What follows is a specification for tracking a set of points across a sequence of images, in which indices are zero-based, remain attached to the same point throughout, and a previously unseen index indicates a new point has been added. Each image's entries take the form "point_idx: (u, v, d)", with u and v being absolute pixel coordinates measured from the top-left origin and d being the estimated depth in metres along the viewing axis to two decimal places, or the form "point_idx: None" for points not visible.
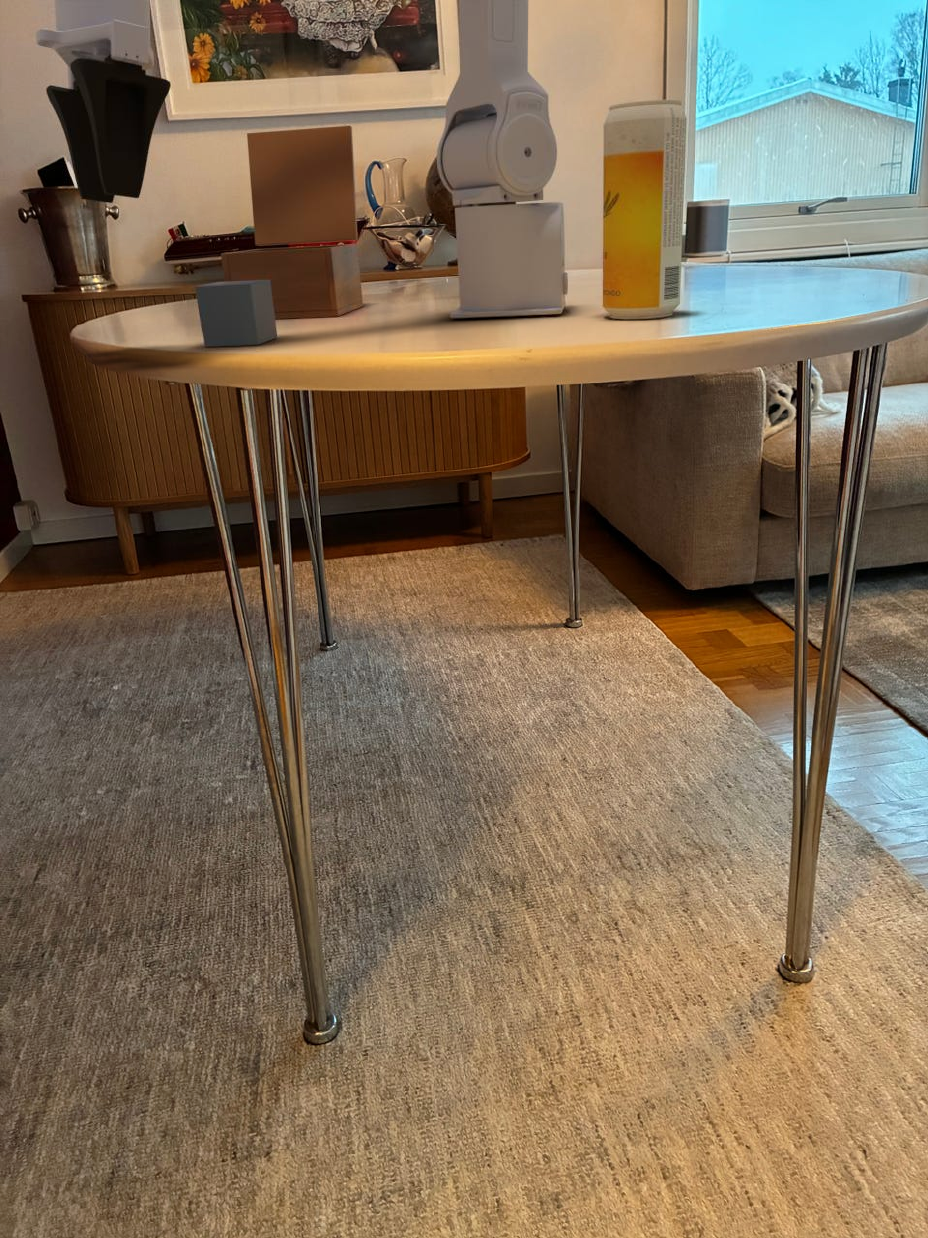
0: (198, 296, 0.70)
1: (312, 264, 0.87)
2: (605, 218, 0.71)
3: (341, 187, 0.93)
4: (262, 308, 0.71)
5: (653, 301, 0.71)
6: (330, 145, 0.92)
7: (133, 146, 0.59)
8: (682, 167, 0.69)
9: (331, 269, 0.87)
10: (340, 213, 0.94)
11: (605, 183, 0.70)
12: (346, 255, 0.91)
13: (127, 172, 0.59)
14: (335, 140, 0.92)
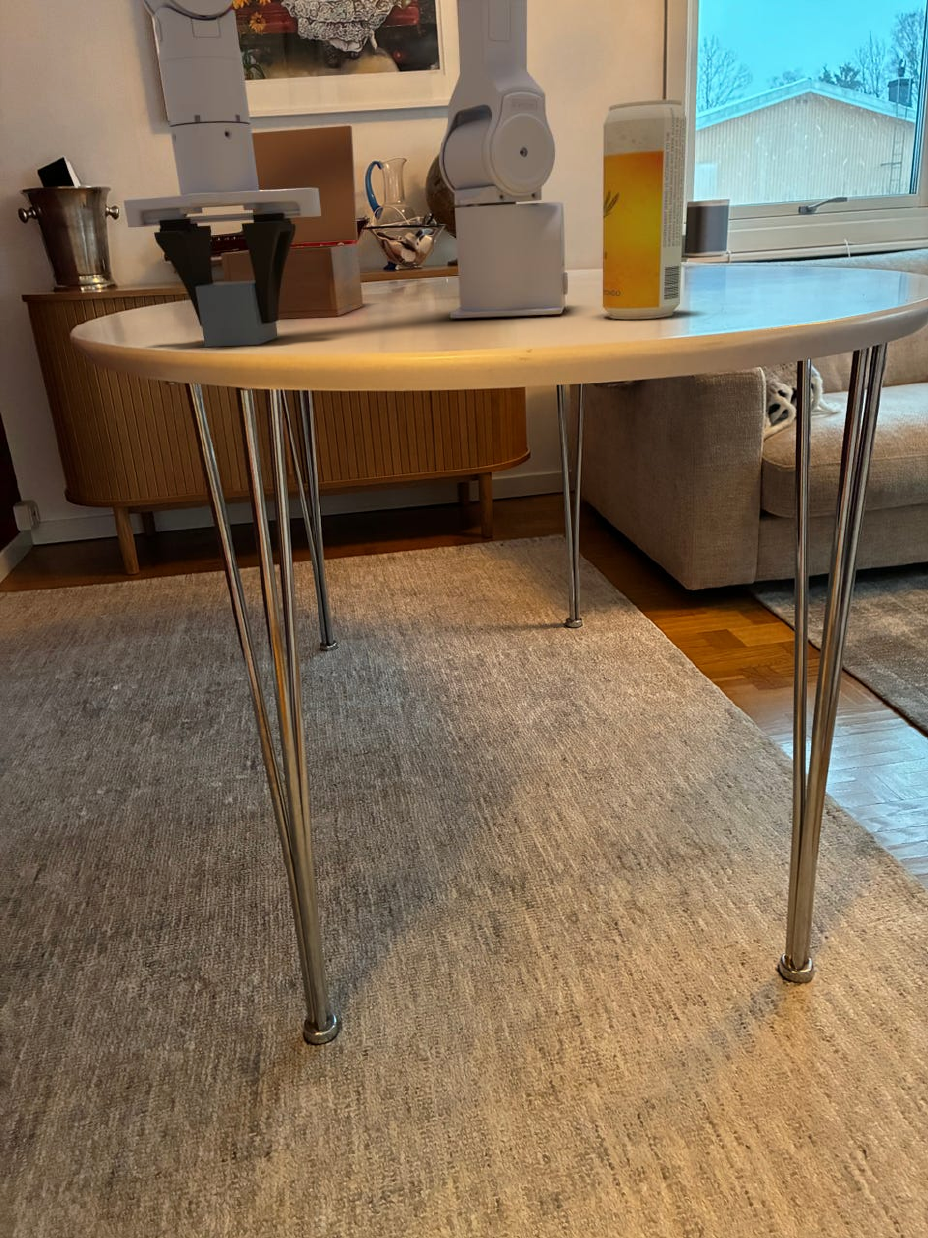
0: (198, 296, 0.70)
1: (312, 264, 0.87)
2: (605, 218, 0.71)
3: (341, 187, 0.93)
4: None
5: (652, 301, 0.71)
6: (330, 145, 0.92)
7: (273, 280, 0.71)
8: (682, 167, 0.69)
9: (331, 269, 0.87)
10: (340, 213, 0.94)
11: (605, 183, 0.70)
12: (346, 255, 0.91)
13: (274, 302, 0.71)
14: (335, 140, 0.92)
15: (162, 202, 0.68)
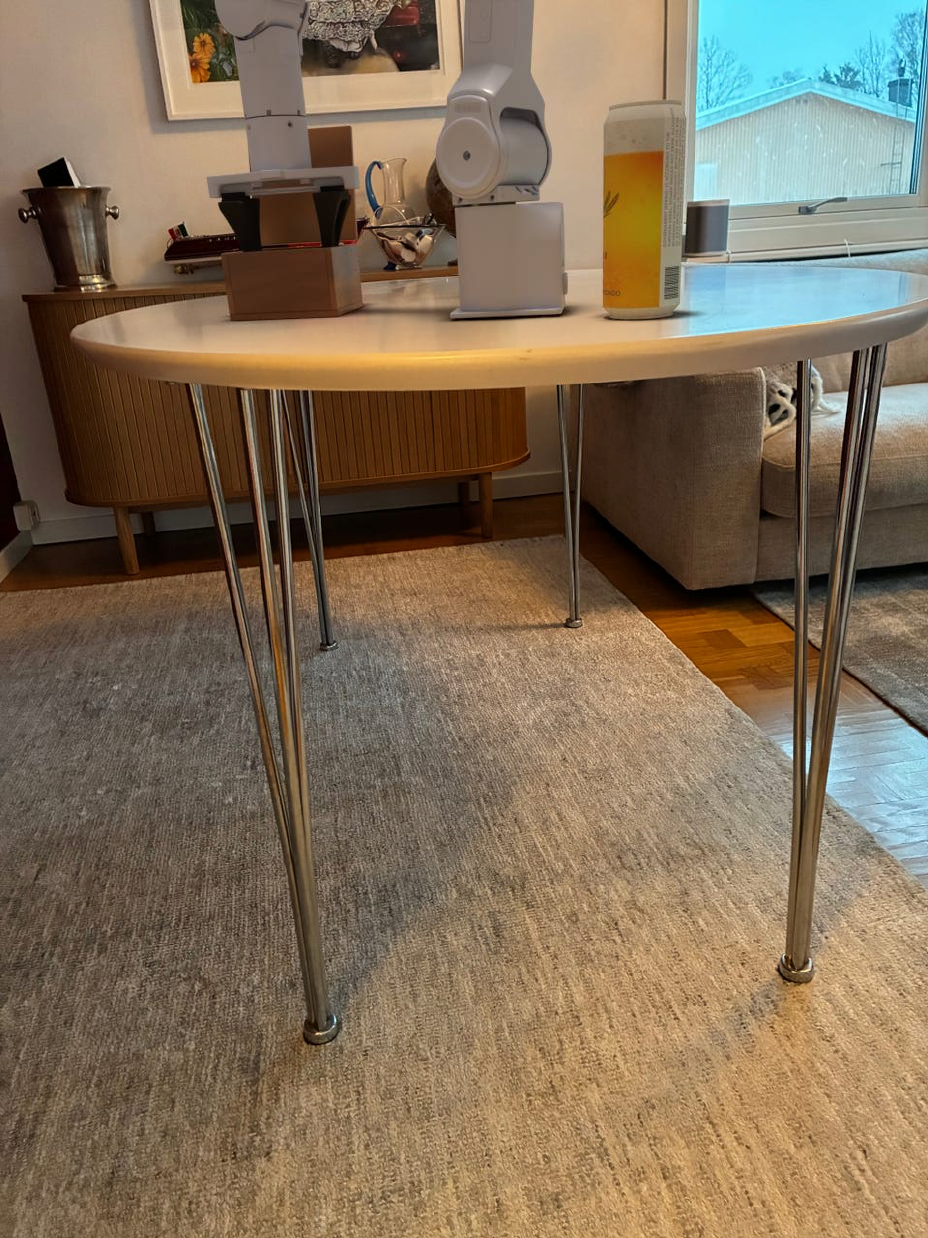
0: None
1: (312, 264, 0.87)
2: (605, 218, 0.71)
3: None
4: None
5: (652, 301, 0.71)
6: (330, 145, 0.92)
7: (334, 239, 0.91)
8: (682, 167, 0.69)
9: (331, 269, 0.87)
10: None
11: (605, 183, 0.70)
12: (346, 255, 0.91)
13: None
14: (335, 140, 0.92)
15: (237, 178, 0.87)
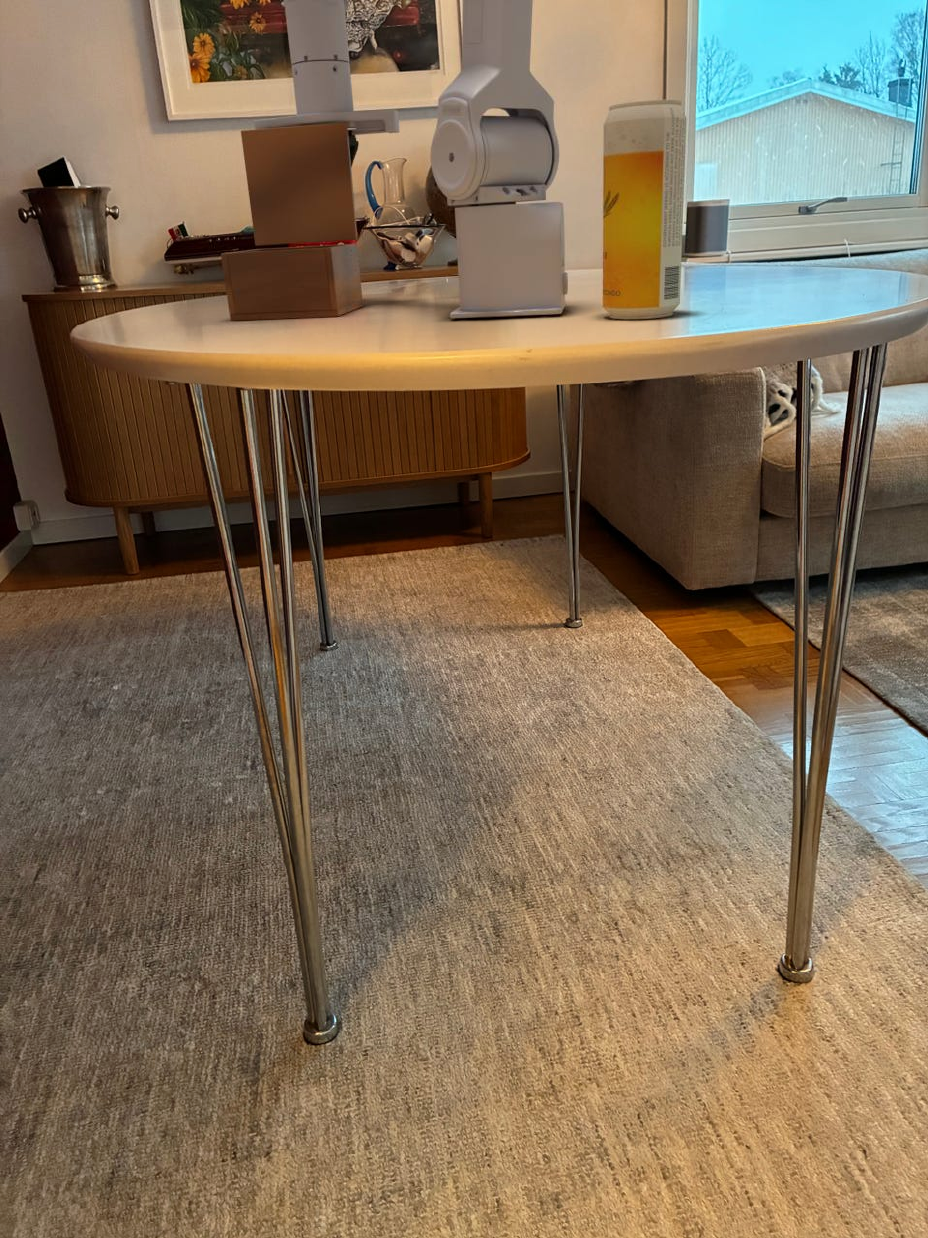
0: None
1: (312, 264, 0.87)
2: (605, 218, 0.71)
3: (339, 187, 0.93)
4: None
5: (652, 301, 0.71)
6: (326, 143, 0.91)
7: None
8: (682, 167, 0.69)
9: (331, 269, 0.87)
10: (339, 213, 0.93)
11: (605, 183, 0.70)
12: (346, 255, 0.91)
13: None
14: (331, 138, 0.91)
15: None
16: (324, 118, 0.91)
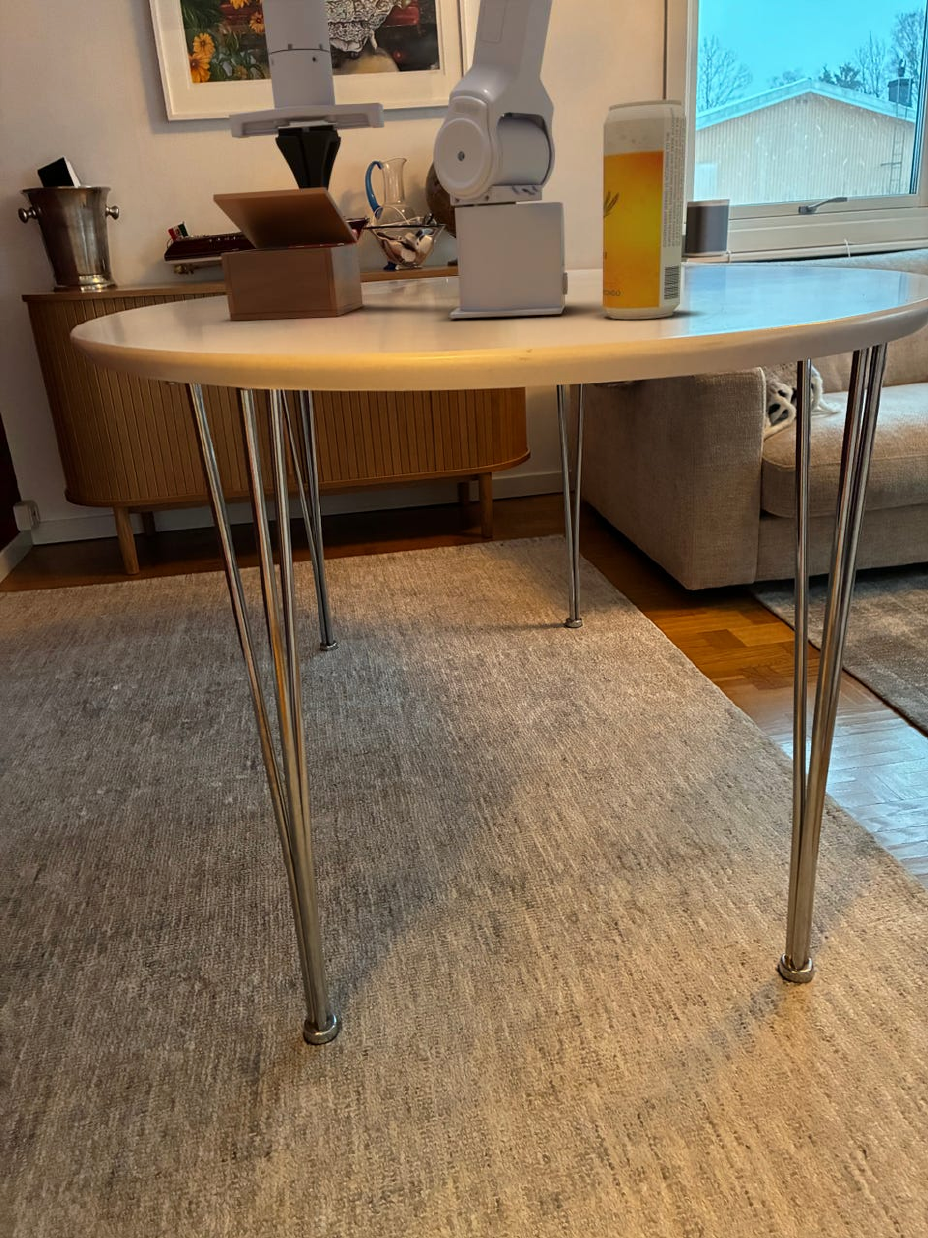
0: None
1: (312, 264, 0.87)
2: (605, 218, 0.71)
3: (331, 221, 0.90)
4: None
5: (652, 301, 0.71)
6: (308, 203, 0.86)
7: None
8: (682, 167, 0.69)
9: (331, 269, 0.87)
10: (335, 232, 0.92)
11: (605, 183, 0.70)
12: (346, 255, 0.91)
13: None
14: (313, 201, 0.86)
15: None
16: (303, 112, 0.85)
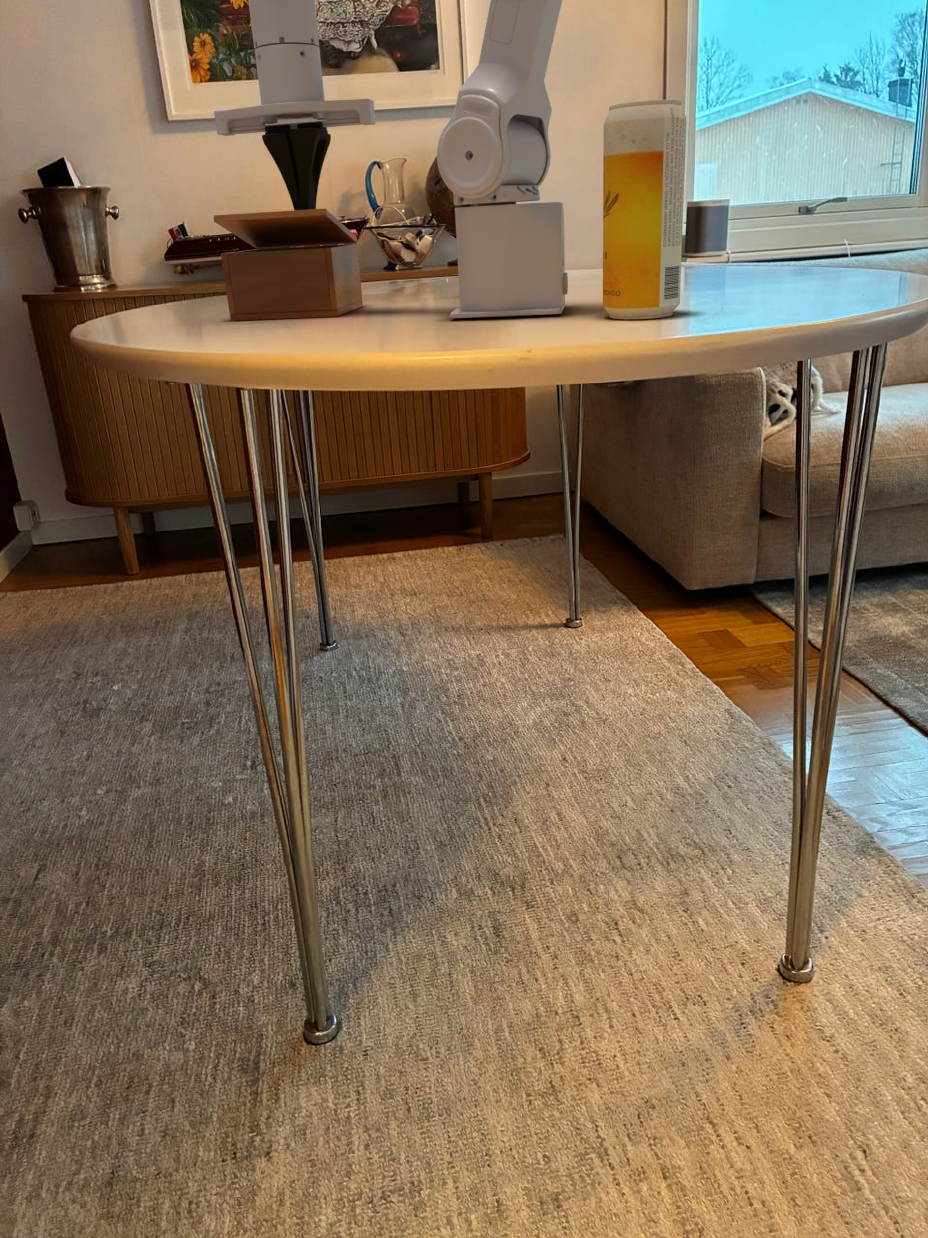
0: None
1: (312, 264, 0.87)
2: (605, 218, 0.71)
3: (331, 231, 0.90)
4: None
5: (652, 301, 0.71)
6: (309, 221, 0.86)
7: None
8: (682, 167, 0.69)
9: (331, 269, 0.87)
10: (335, 237, 0.92)
11: (605, 183, 0.70)
12: (346, 255, 0.91)
13: None
14: (313, 219, 0.86)
15: None
16: (291, 108, 0.81)
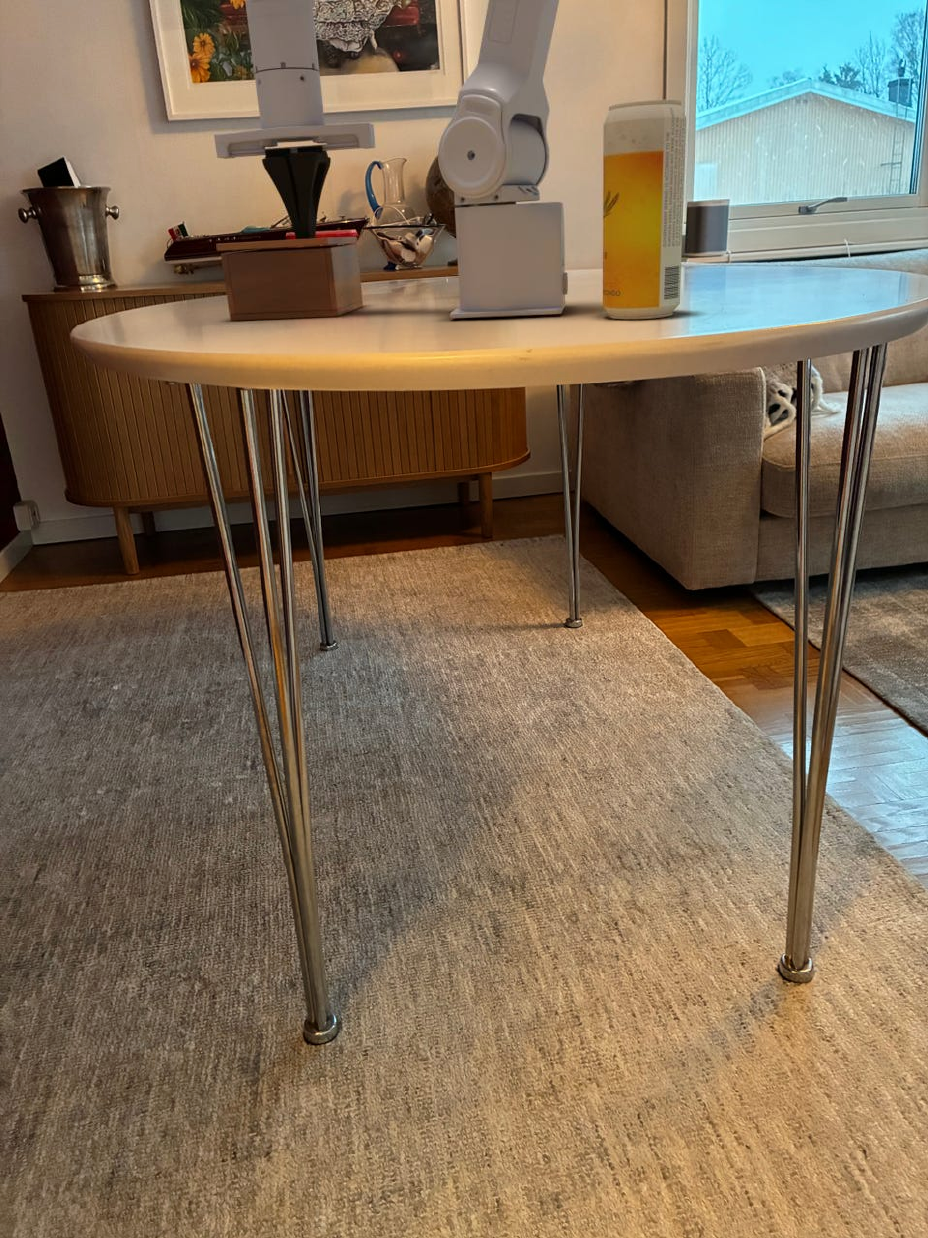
0: None
1: (312, 264, 0.87)
2: (605, 218, 0.71)
3: None
4: None
5: (652, 301, 0.71)
6: None
7: None
8: (682, 167, 0.69)
9: (331, 269, 0.87)
10: None
11: (605, 183, 0.70)
12: (346, 255, 0.91)
13: None
14: None
15: None
16: (291, 133, 0.81)
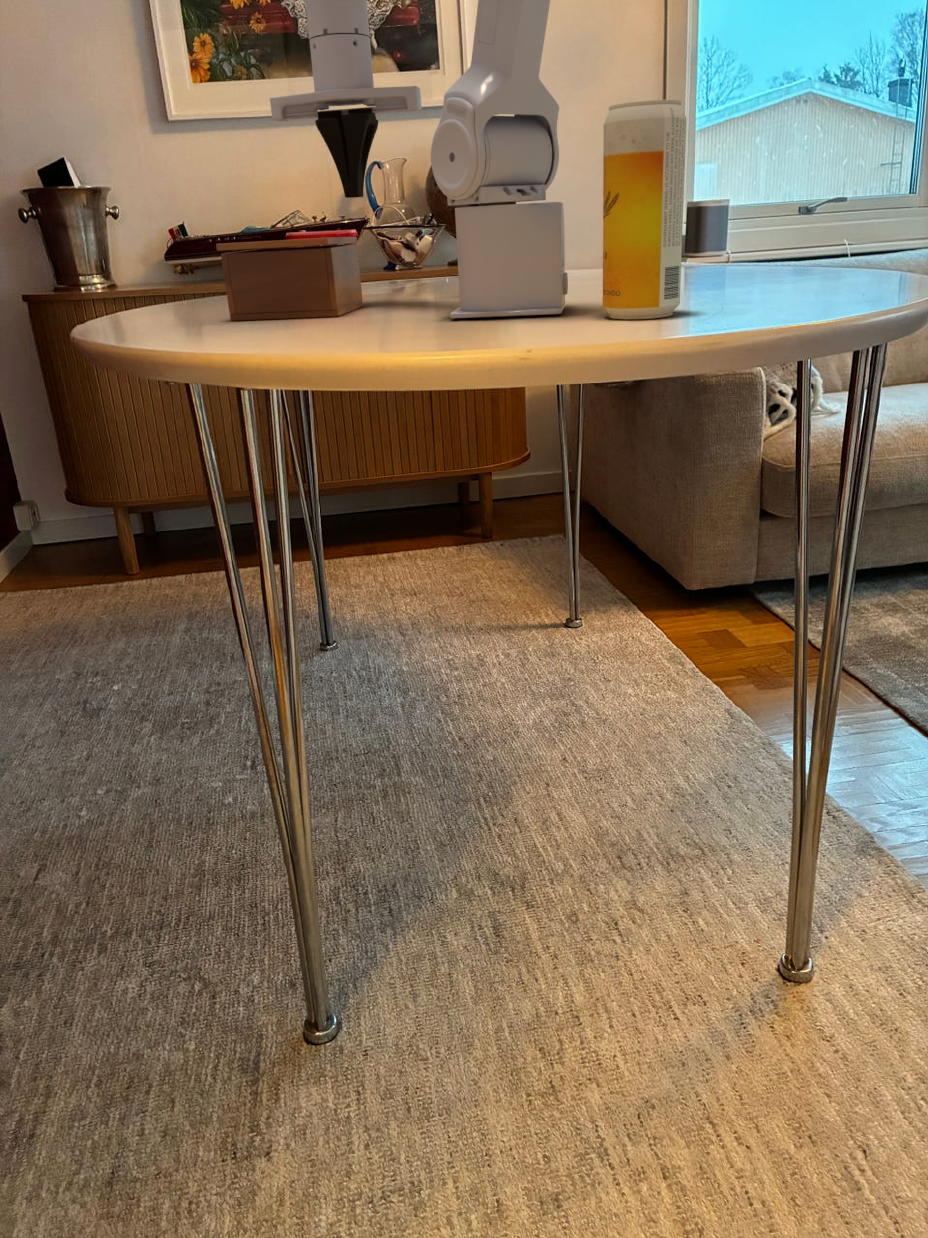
0: None
1: (312, 264, 0.87)
2: (605, 218, 0.71)
3: None
4: None
5: (652, 301, 0.71)
6: None
7: None
8: (682, 167, 0.69)
9: (331, 269, 0.87)
10: None
11: (605, 183, 0.70)
12: (346, 255, 0.91)
13: None
14: None
15: None
16: (343, 95, 0.87)
